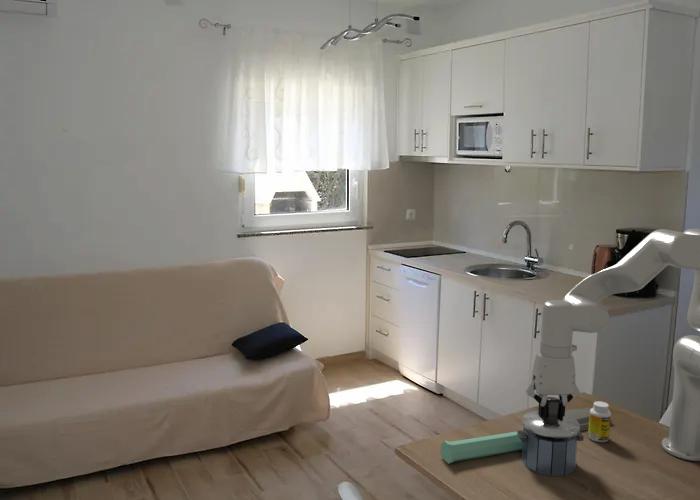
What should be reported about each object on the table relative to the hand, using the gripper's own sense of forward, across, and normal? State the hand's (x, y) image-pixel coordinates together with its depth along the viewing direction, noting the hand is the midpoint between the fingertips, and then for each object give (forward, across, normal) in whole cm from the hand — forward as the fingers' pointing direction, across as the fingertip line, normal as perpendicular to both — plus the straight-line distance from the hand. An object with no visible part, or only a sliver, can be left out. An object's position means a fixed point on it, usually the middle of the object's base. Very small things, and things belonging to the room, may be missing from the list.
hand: (551, 418), depth 166 cm
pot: (+12, 0, 0) cm, 12 cm away
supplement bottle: (+12, -19, -13) cm, 26 cm away
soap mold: (+13, -16, -23) cm, 31 cm away
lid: (+2, 0, 0) cm, 2 cm away
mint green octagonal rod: (+13, +14, -6) cm, 20 cm away
